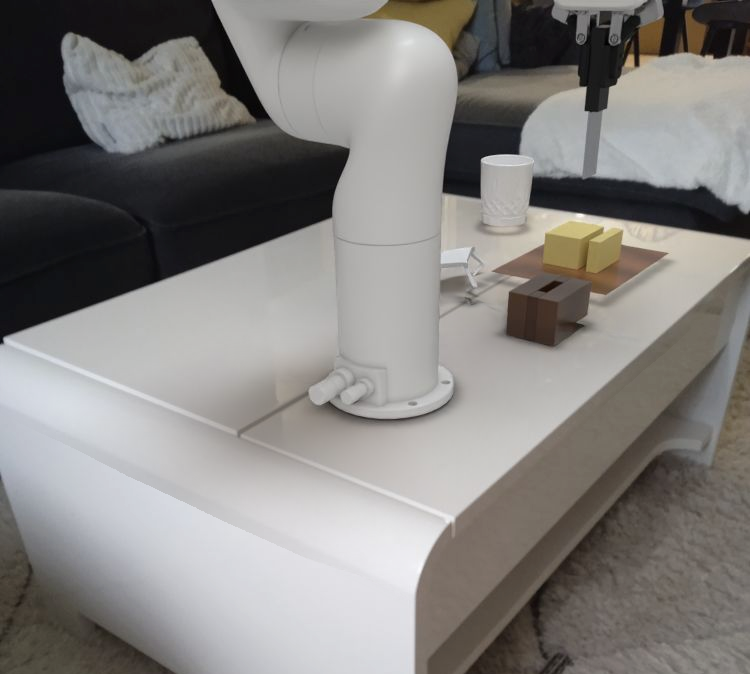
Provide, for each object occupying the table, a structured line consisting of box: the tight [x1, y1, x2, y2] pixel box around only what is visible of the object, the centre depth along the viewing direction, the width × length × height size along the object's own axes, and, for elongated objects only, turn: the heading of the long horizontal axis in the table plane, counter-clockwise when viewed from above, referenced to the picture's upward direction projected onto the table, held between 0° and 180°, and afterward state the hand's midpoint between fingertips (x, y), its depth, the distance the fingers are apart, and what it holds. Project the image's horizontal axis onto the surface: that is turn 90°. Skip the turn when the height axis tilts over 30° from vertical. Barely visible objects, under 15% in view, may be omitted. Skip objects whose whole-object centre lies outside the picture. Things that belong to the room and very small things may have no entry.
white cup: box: [480, 154, 535, 228], centre depth 125 cm, size 8×8×10 cm
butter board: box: [491, 243, 670, 296], centre depth 110 cm, size 20×16×1 cm
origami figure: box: [440, 246, 486, 305], centre depth 103 cm, size 12×8×5 cm
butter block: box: [543, 220, 605, 270], centre depth 109 cm, size 7×5×4 cm
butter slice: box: [586, 227, 624, 273], centre depth 107 cm, size 7×2×4 cm, turn 142°
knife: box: [581, 24, 611, 180], centre depth 90 cm, size 3×2×15 cm, turn 142°
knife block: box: [505, 272, 592, 347], centre depth 92 cm, size 8×6×5 cm
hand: (598, 84), depth 89 cm, fingers closed on knife, 1 cm apart
